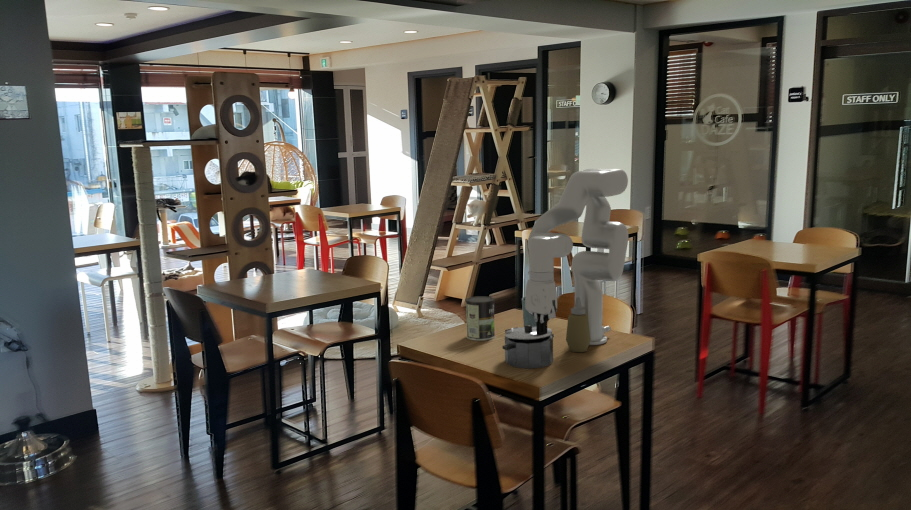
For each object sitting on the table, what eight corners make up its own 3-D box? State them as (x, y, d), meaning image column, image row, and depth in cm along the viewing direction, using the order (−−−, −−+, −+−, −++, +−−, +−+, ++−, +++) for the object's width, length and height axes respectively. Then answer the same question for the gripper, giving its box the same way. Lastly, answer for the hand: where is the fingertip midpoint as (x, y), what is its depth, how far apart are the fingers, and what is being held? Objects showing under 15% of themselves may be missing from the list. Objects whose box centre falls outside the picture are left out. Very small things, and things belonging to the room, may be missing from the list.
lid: (527, 327, 237) (526, 318, 236) (562, 333, 224) (561, 324, 224) (493, 335, 227) (493, 326, 227) (528, 342, 215) (527, 333, 215)
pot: (534, 349, 239) (534, 326, 238) (568, 359, 227) (568, 335, 226) (488, 362, 227) (487, 338, 225) (521, 373, 215) (521, 348, 213)
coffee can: (496, 333, 260) (496, 296, 258) (492, 341, 250) (491, 302, 248) (469, 332, 262) (468, 295, 260) (464, 340, 252) (463, 302, 250)
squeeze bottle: (585, 355, 231) (585, 301, 228) (562, 351, 235) (561, 299, 233) (594, 348, 238) (594, 296, 235) (571, 345, 242) (571, 294, 239)
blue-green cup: (517, 331, 262) (516, 299, 260) (529, 325, 270) (529, 294, 268) (542, 334, 256) (542, 302, 254) (553, 328, 265) (553, 296, 263)
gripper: (515, 274, 221) (516, 331, 224) (550, 281, 209) (550, 341, 212) (533, 271, 226) (533, 327, 229) (567, 277, 214) (568, 336, 217)
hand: (541, 333), depth 220 cm, fingers closed
